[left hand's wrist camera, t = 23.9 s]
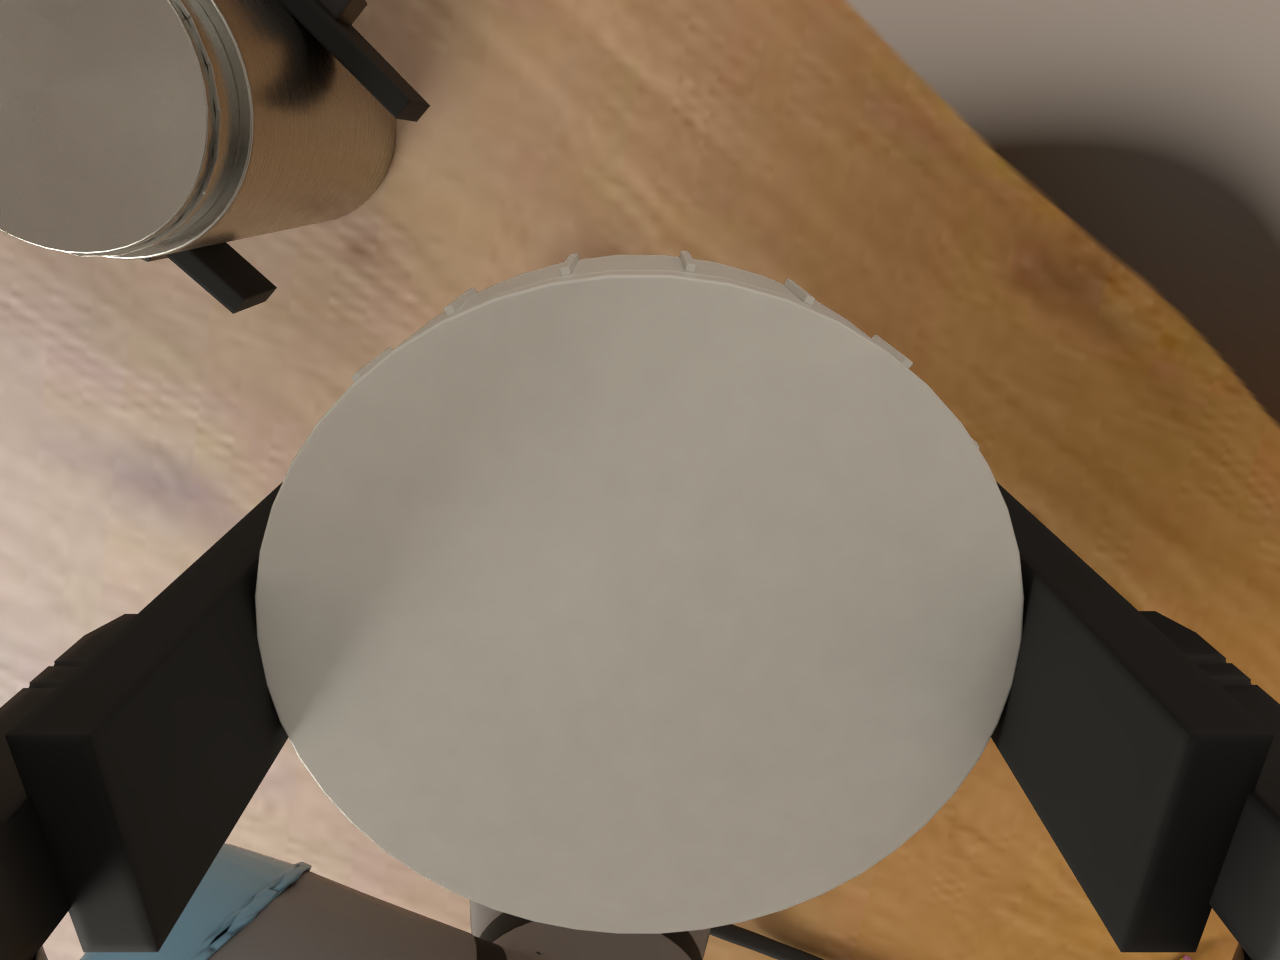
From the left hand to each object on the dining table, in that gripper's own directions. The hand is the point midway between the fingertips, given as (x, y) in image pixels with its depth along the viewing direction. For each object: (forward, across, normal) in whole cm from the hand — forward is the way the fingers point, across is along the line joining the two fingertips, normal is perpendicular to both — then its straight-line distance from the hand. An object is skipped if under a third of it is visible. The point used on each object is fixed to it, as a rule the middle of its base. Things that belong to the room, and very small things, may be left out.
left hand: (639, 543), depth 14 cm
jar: (+24, +14, -8) cm, 29 cm away
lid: (-3, 0, 0) cm, 3 cm away
